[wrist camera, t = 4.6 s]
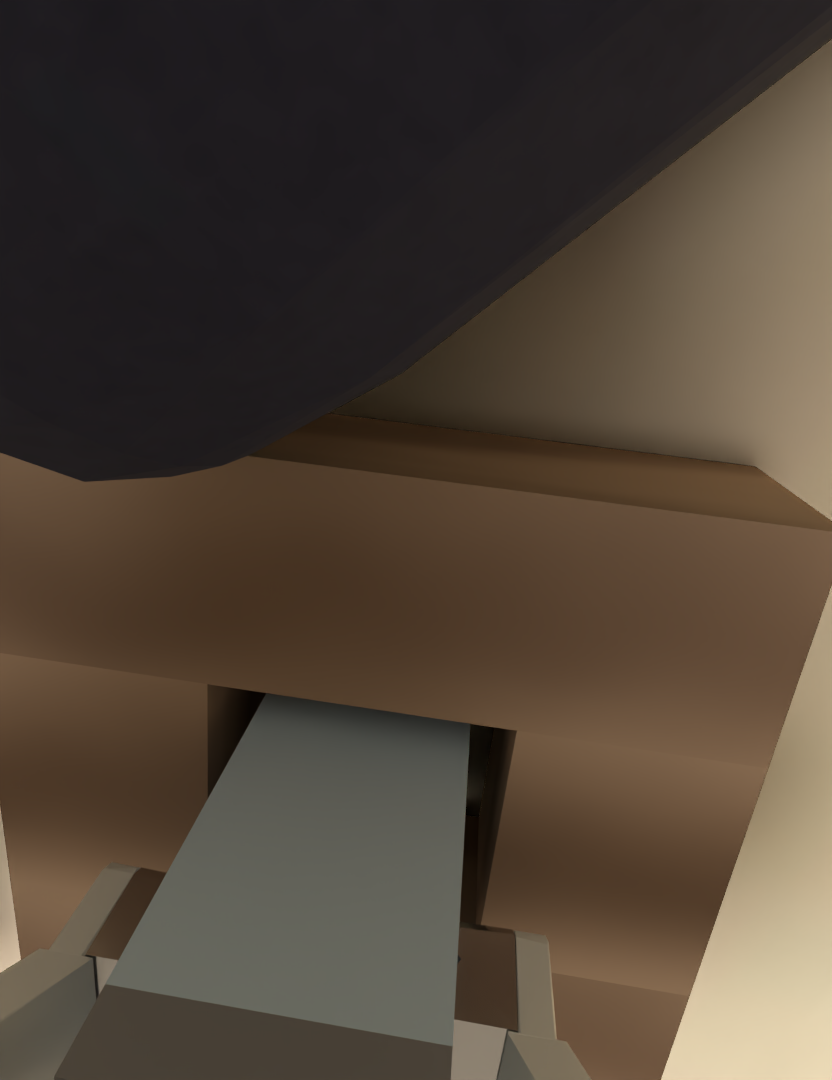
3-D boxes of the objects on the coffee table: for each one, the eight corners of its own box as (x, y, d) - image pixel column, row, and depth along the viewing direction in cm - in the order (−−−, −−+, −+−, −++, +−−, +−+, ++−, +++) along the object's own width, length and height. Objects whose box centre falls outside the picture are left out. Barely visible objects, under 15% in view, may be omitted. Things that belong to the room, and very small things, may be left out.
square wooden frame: (84, 382, 15) (-52, 417, 11) (755, 466, 14) (849, 533, 10) (116, 881, 20) (29, 1019, 16) (613, 965, 19) (642, 1132, 15)
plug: (304, 624, 16) (53, 1077, 7) (474, 649, 16) (446, 1150, 7) (297, 764, 18) (79, 1293, 9) (453, 788, 18) (406, 1362, 8)
